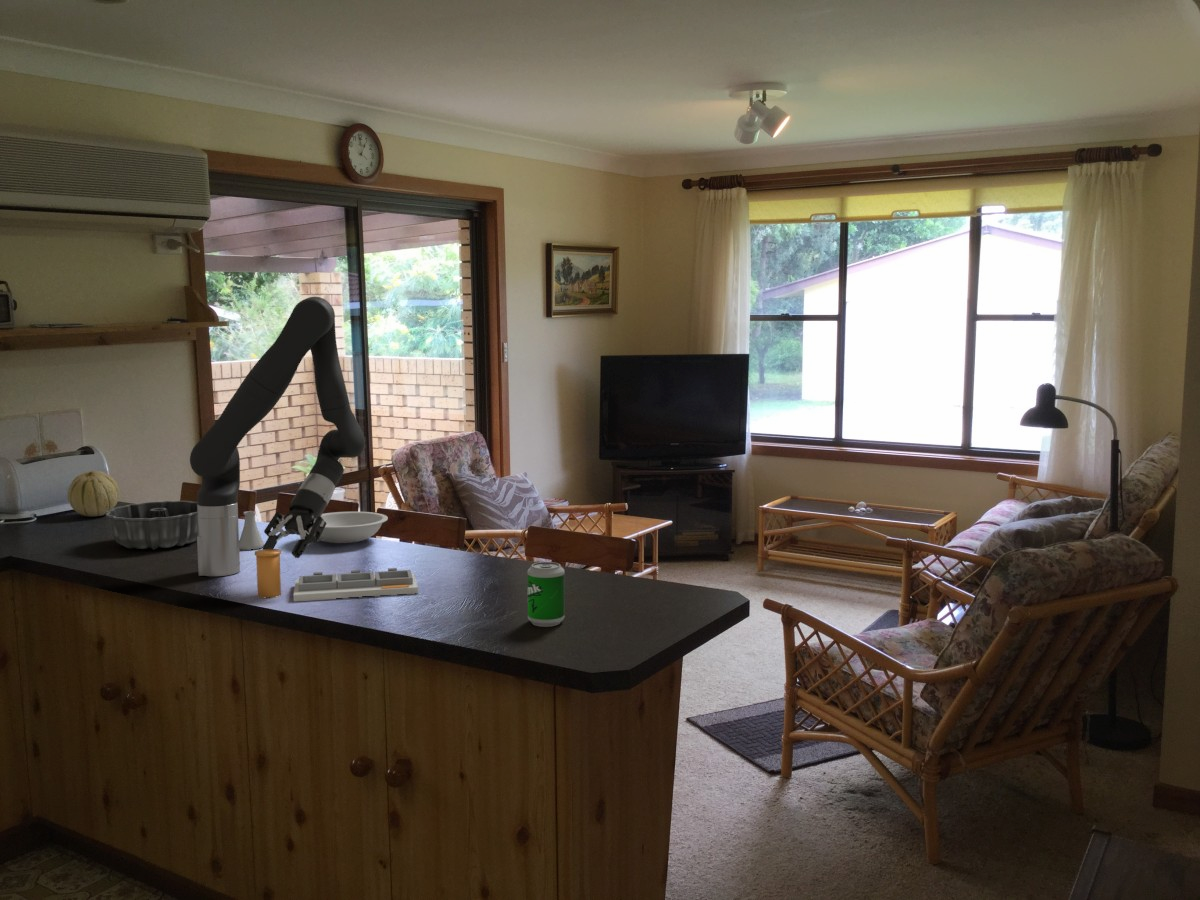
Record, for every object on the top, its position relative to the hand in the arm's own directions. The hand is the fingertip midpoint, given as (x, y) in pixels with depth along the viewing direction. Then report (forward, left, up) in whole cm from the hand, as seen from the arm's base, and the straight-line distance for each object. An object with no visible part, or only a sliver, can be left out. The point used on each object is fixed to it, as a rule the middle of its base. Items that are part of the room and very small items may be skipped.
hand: (280, 554), depth 224 cm
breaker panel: (+17, -3, -9) cm, 19 cm away
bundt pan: (-35, +62, -9) cm, 72 cm away
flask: (-10, +50, -9) cm, 52 cm away
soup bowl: (+15, +52, -9) cm, 55 cm away
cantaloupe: (-62, +111, -9) cm, 128 cm away
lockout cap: (-2, -3, -9) cm, 9 cm away
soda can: (+54, -39, -9) cm, 67 cm away
